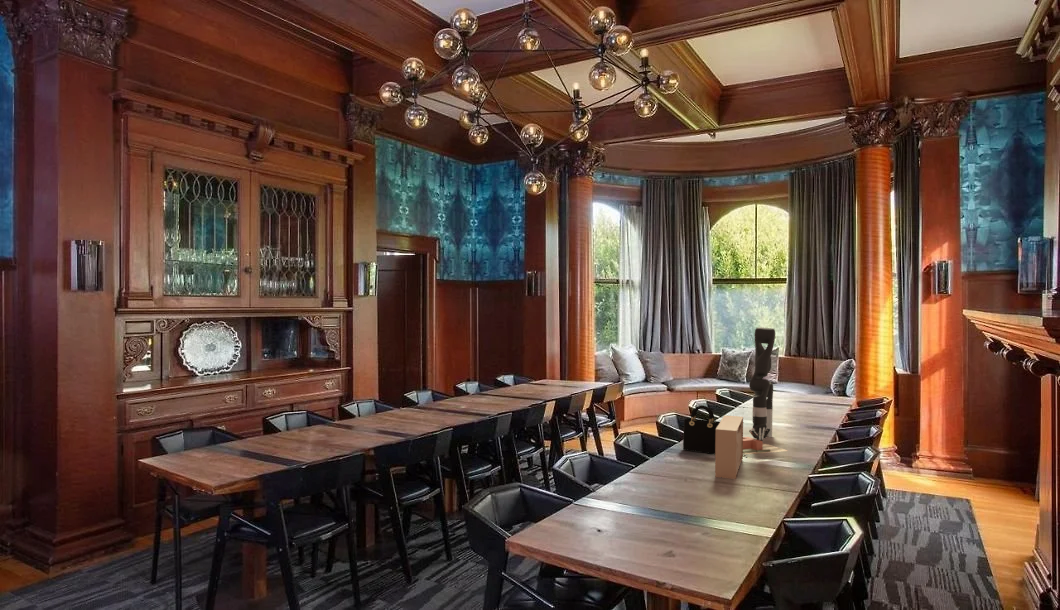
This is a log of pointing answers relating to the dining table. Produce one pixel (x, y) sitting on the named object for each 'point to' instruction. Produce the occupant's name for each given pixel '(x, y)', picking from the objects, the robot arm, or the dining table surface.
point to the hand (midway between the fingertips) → (759, 446)
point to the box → (729, 446)
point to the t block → (752, 443)
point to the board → (766, 449)
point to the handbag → (700, 432)
